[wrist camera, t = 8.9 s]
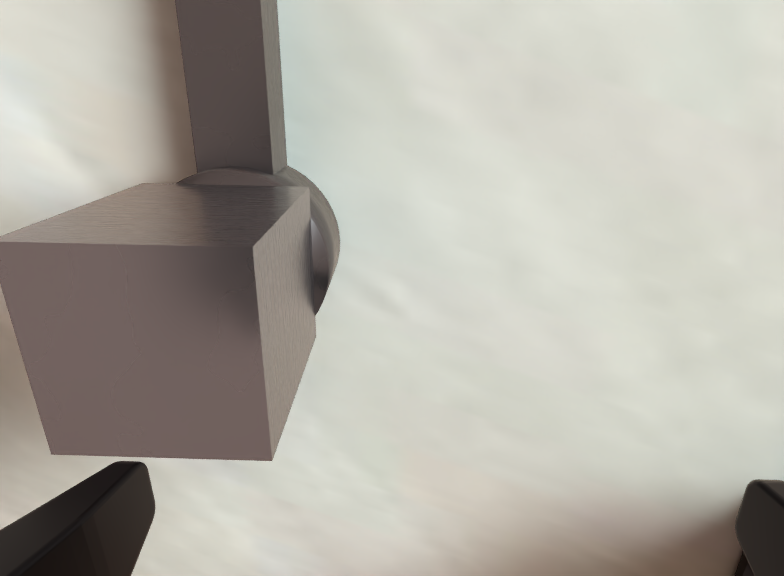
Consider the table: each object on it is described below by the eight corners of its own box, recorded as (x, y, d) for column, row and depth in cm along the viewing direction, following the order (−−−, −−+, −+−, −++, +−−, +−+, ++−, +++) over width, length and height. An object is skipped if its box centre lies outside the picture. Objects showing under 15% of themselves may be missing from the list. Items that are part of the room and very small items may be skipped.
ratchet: (341, 314, 20) (317, 404, 14) (190, 310, 20) (107, 398, 14) (325, -342, 13) (264, -667, 7) (93, -342, 13) (-142, -663, 7)
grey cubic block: (316, 336, 17) (272, 460, 11) (167, 332, 17) (50, 454, 11) (309, 186, 15) (252, 247, 9) (142, 183, 15) (-12, 241, 9)
